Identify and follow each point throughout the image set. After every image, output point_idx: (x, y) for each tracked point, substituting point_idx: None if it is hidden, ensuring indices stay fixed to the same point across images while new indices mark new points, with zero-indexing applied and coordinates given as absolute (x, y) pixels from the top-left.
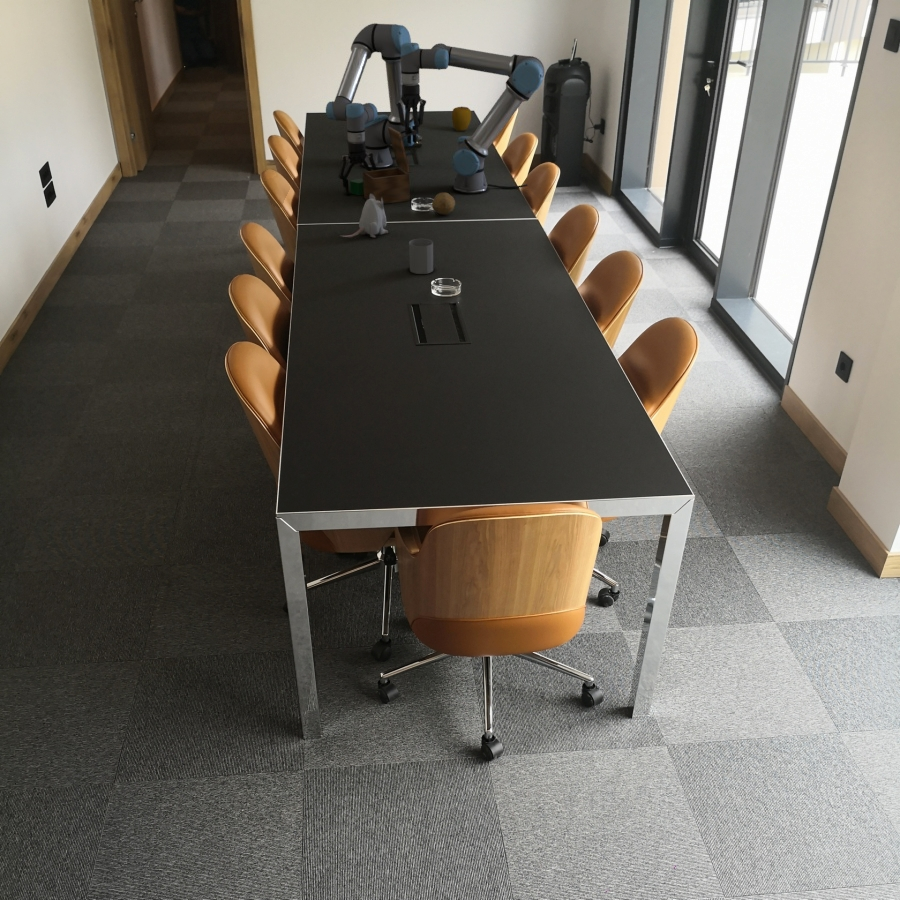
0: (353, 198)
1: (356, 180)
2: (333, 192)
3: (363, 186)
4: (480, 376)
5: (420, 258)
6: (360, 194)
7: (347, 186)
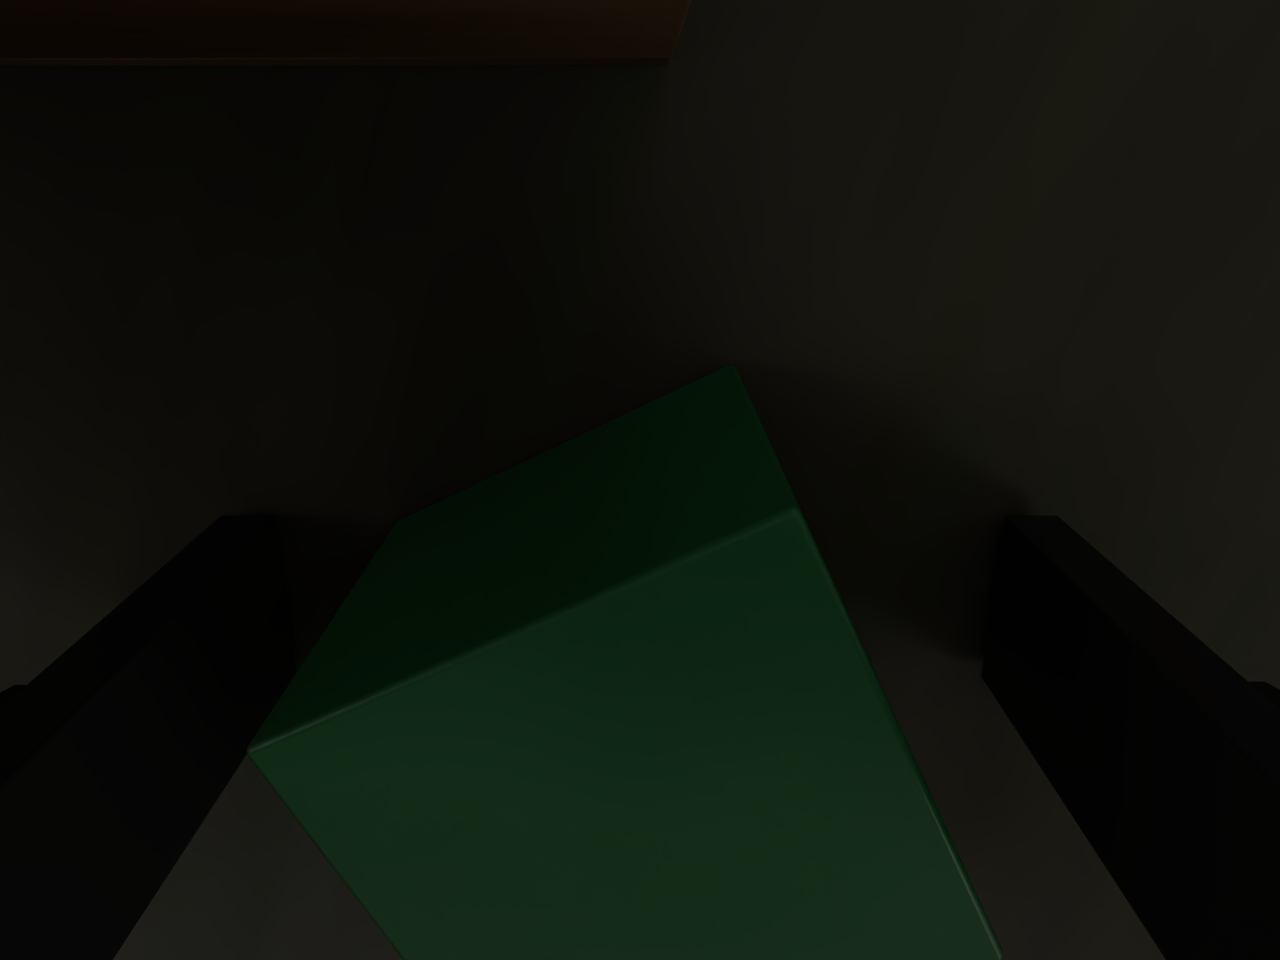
0: (1030, 141)
1: (714, 927)
2: None
3: (519, 547)
4: None
5: None
6: (686, 388)
7: (1188, 650)
